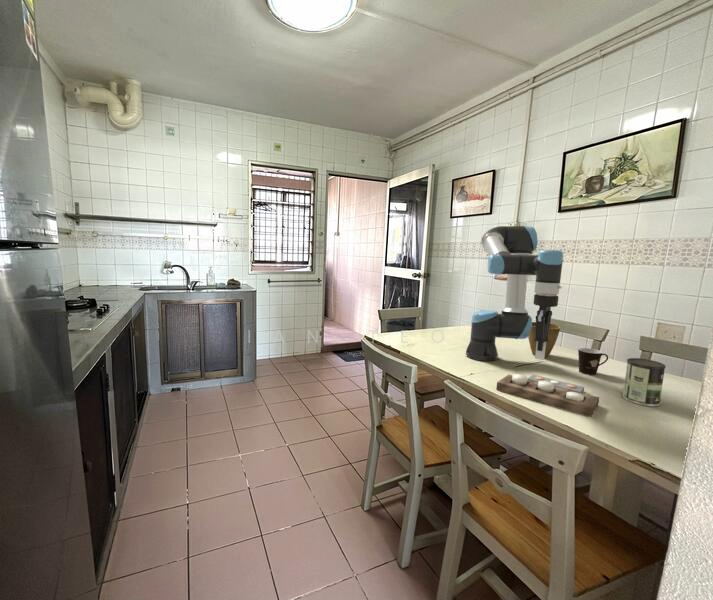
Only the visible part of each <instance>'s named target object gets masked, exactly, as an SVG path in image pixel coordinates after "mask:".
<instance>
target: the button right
mask: <svg viewBox="0 0 713 600" xmlns="http://www.w3.org/2000/svg"><path fill="white" fill-rule="evenodd" d="M566 398H569V399H573V400H576V401H580V402H583V400H584V396H583V395H582V394H579V393H576V392H567V393H566Z"/></svg>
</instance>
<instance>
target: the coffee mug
mask: <svg viewBox="0 0 713 600" xmlns="http://www.w3.org/2000/svg"><path fill="white" fill-rule="evenodd" d="M577 351H578V353H577V354H578V355H577V356H578V372H579V373H580V372H581V373H580V374H584V375H587V374H588V376H596V375H597V373H598V369H599V367H600V366H601V365H602V366H603V364H605V363H607V361H608V360H609V355H608V354H606V353H603V351H601V350H599V349H595V348H590V347H579V348H578V350H577ZM602 356H605V357H606V358H605V360H604V361H603V362H601V358H602ZM600 362H601V363H600Z"/></svg>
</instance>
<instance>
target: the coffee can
mask: <svg viewBox="0 0 713 600" xmlns="http://www.w3.org/2000/svg"><path fill="white" fill-rule="evenodd" d="M626 359H627V360H626V361H627V364H626V372H625V378H624V379H625V380H624V387H623V394H622V397H623V398H624V399H625V400H626V401H628V402H632V403H634V404H637V405H641V406H646V407H659V406H660V405H661V399H662V398H661V397H662V389H663V385H664V384H663V382H664V376H665V369H666V364H664V363H663V362H659V361H656V360H652V359H648V358H637V357H634V358H632V357H631V358H626Z"/></svg>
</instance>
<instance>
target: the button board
mask: <svg viewBox="0 0 713 600" xmlns="http://www.w3.org/2000/svg"><path fill="white" fill-rule="evenodd" d="M512 375H513V374H507V375H505V376H503V377H502V378H501V379H500V380H498V381H496V391H499V390H500V391H499V392H504V393H506V394H509V393H510V395H514V396H517V397H521V398H524V399H527V400H531V401H534V402H538V403H541V404H544V405H548V406H552V407H554V406H555V408H559V409H562V410H566V411H569V412H572V413H575V414H578V415H581V416H586V417H589V418H592V417H593V416H594V414H595V412H596V411H597V409H598V407H599V403H600V397H599V396H595V395H591V394H589V393H588V394H587V393H580V392H576V391H572V390H568V389H564V388H560V387H556V386H554V392H552V393H547V392H543V391H540V390H538V382H537V381H533V380H529V379H528V378H527V385H517V384H514V383H512ZM567 392H576V393H579V394H582V395H583V396H584V400H583V402H580V401H576V400H573V399H569V398H566V393H567Z"/></svg>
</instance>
